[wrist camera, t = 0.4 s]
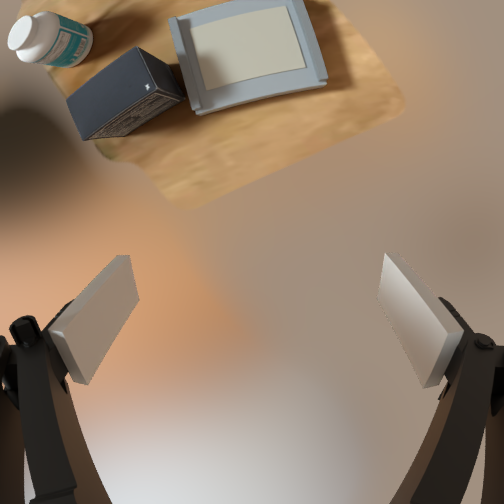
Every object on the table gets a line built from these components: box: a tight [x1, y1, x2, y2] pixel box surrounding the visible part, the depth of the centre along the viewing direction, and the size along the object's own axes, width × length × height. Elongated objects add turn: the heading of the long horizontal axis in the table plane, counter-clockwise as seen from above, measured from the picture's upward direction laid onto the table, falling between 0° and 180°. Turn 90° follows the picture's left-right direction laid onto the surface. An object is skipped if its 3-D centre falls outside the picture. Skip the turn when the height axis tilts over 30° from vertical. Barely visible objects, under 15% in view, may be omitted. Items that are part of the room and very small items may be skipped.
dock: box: [168, 0, 328, 116], centre depth 29 cm, size 14×16×4 cm
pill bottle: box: [8, 11, 93, 68], centre depth 24 cm, size 8×7×14 cm
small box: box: [66, 46, 185, 141], centre depth 29 cm, size 11×6×10 cm, turn 115°
